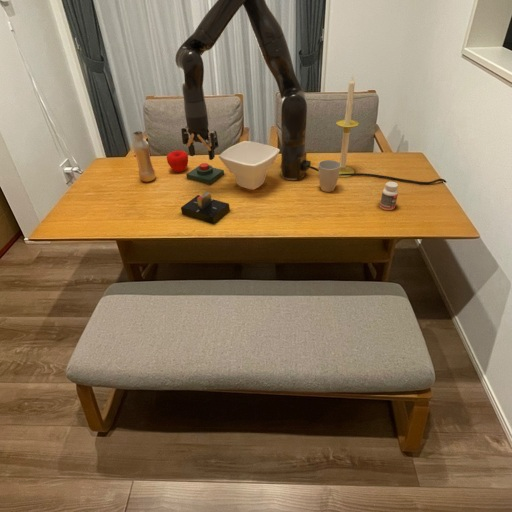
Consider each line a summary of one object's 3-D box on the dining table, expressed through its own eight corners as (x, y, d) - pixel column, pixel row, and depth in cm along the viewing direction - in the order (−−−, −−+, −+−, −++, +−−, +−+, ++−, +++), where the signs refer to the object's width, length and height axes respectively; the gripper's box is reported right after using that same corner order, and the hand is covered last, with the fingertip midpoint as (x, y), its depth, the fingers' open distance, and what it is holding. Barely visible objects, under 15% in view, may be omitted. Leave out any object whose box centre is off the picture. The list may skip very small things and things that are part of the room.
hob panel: (229, 210, 140) (229, 203, 138) (213, 224, 133) (213, 216, 131) (198, 201, 145) (197, 194, 143) (182, 214, 139) (180, 207, 137)
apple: (173, 176, 163) (169, 159, 158) (166, 169, 169) (163, 152, 164) (193, 171, 166) (190, 154, 161) (185, 164, 172) (182, 147, 167)
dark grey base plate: (224, 174, 162) (223, 166, 160) (210, 184, 156) (209, 175, 153) (201, 169, 167) (200, 160, 165) (186, 178, 161) (185, 170, 158)
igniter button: (210, 168, 160) (210, 164, 159) (205, 171, 157) (205, 167, 156) (203, 166, 161) (203, 162, 160) (198, 169, 159) (198, 165, 158)
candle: (327, 167, 164) (335, 72, 141) (351, 166, 164) (363, 71, 141) (332, 178, 156) (341, 79, 133) (356, 176, 156) (370, 78, 133)
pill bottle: (392, 211, 135) (397, 189, 129) (377, 208, 137) (381, 185, 132) (396, 205, 138) (401, 182, 133) (382, 201, 141) (386, 179, 135)
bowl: (245, 170, 164) (243, 139, 156) (284, 181, 155) (284, 148, 147) (217, 188, 153) (213, 155, 144) (257, 202, 144) (256, 167, 135)
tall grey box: (207, 201, 139) (206, 190, 137) (211, 202, 139) (210, 192, 136) (198, 208, 136) (196, 197, 133) (202, 209, 135) (200, 199, 132)
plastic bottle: (158, 176, 163) (148, 129, 151) (153, 183, 158) (142, 136, 146) (143, 176, 164) (132, 129, 152) (138, 183, 159) (126, 136, 146)
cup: (340, 185, 151) (343, 161, 145) (334, 195, 145) (337, 170, 139) (320, 182, 154) (322, 158, 148) (314, 191, 148) (315, 167, 142)
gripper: (219, 112, 133) (223, 156, 143) (186, 107, 139) (192, 150, 149) (207, 119, 128) (212, 164, 138) (173, 114, 134) (180, 158, 144)
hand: (202, 157), depth 143 cm, fingers open, 8 cm apart
